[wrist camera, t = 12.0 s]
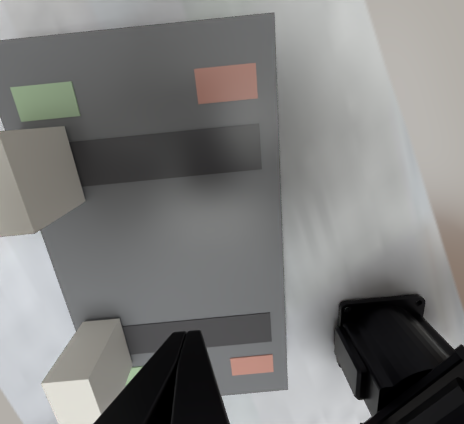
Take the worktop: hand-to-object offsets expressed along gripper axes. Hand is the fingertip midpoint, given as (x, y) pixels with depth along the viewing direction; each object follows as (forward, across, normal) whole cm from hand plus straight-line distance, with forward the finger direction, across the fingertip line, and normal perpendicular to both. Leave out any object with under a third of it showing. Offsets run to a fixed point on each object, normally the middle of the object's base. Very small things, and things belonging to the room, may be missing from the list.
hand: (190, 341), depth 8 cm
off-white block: (+8, +8, +7) cm, 14 cm away
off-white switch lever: (+8, +8, -5) cm, 12 cm away
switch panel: (+12, +3, +1) cm, 12 cm away
